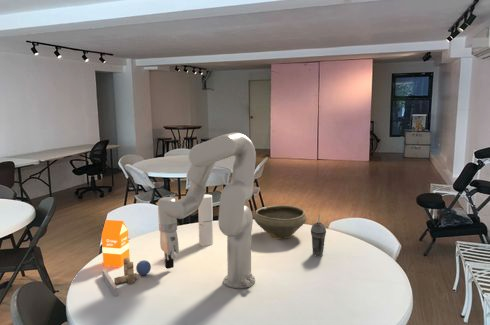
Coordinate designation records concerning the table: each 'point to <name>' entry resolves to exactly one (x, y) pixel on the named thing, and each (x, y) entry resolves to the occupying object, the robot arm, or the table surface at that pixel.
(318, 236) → the beverage cup
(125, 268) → the pin
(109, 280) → the rail
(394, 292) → the table surface
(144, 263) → the ball
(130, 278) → the pin
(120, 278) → the pin front
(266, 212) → the bowl
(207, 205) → the cylindrical container
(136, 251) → the table surface
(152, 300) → the table surface
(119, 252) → the orange juice
